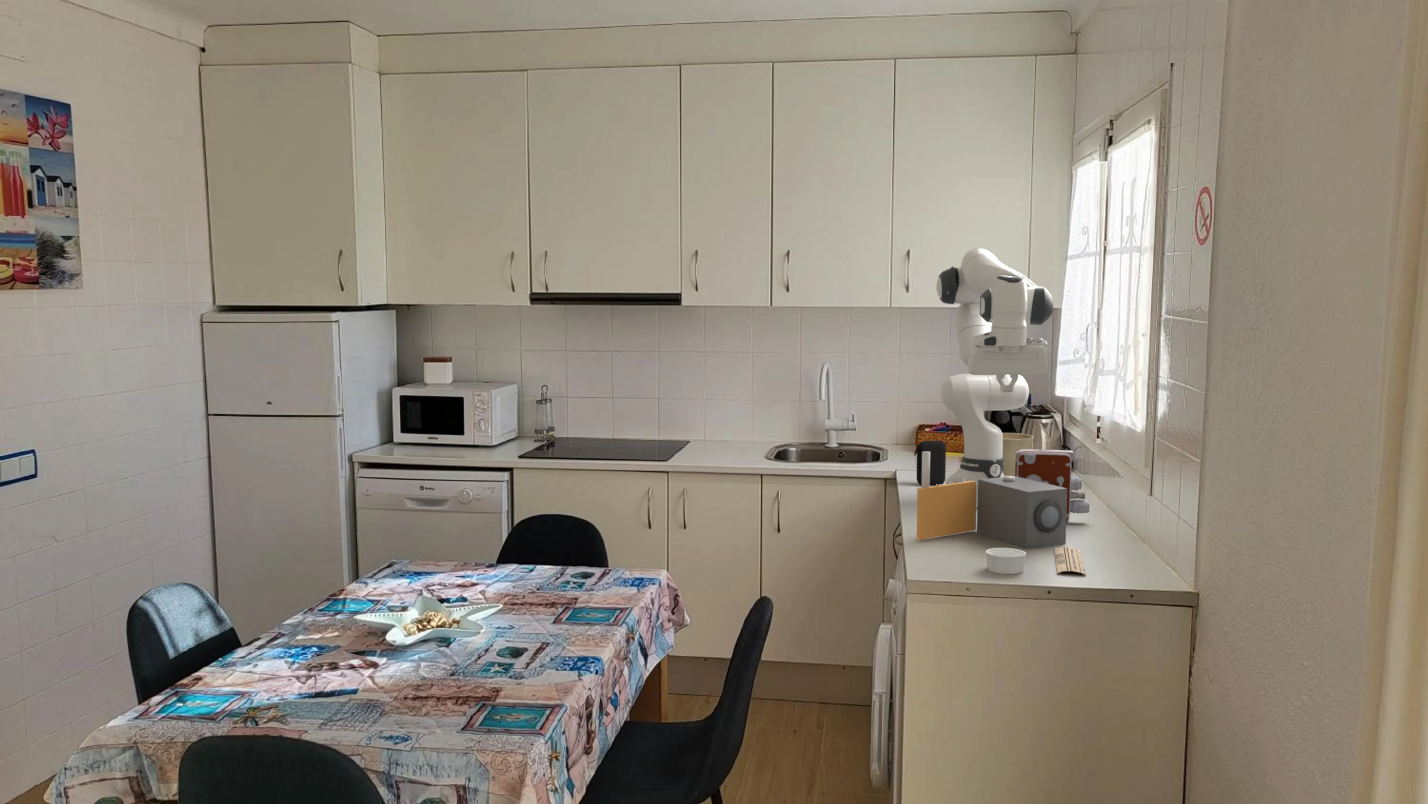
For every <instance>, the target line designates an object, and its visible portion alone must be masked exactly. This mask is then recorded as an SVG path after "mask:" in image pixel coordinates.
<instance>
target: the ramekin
mask: <svg viewBox="0 0 1428 804" xmlns="http://www.w3.org/2000/svg"><path fill="white" fill-rule="evenodd" d="M985 556H986V567H987V568H986V569H987V570H988V571H990V572H991V573H995V574H999V575H1017V574H1021V573H1023V572H1024V571H1025V561H1026V557H1027V552H1026V551H1024V550H1021V549H1017V548H1011V547H1010V548H1009V547H992V548H989V549H988V548H987V549H986V550H985Z"/></svg>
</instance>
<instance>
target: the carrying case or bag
mask: <svg viewBox="0 0 1428 804" xmlns="http://www.w3.org/2000/svg"><path fill="white" fill-rule="evenodd" d="M924 451H927V452H930V485H932V486H938V485H939V484H942V485H944V483H946V469H947V468H946V467H947V465H946V464H947V463H946V459H947V458H946V457H947V456H946V455H947V446H946V443H945V441H943V440H921V441H919V443H918V444H917V445H916V447H915V449H914V453H913V456H914V457H915V456H916V481H917V484H918V485H919V486H922V452H924ZM936 484H938V485H936Z"/></svg>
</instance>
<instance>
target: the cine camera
mask: <svg viewBox="0 0 1428 804" xmlns="http://www.w3.org/2000/svg"><path fill="white" fill-rule="evenodd" d="M1074 461H1075V452H1074V451H1073V450H1068V449H1067V450H1061V449H1043V448H1039V449H1038V448H1037V449H1033V448H1032V449H1021V450H1019V451H1016V462H1015V476H1017V477H1021V478H1025V479H1029V480H1034V481H1038V482H1042V483H1046V484H1050V485H1055V486H1059V487H1063V488H1067V514H1066V525H1067V524H1068V523H1069V521H1070V515H1071V513H1072V514H1088V513H1089V512H1090V501H1088V500H1085V499H1086V492H1084V491H1083V492H1078V491H1079V490H1081V489H1082V485H1083V484H1082V482H1083V481H1082V478H1081V477H1079V476H1078V475H1077V476H1073V475H1072V462H1074Z"/></svg>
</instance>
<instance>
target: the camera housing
mask: <svg viewBox="0 0 1428 804" xmlns="http://www.w3.org/2000/svg"><path fill="white" fill-rule="evenodd" d="M1066 514H1067V488H1063V487H1059V486H1055V485H1050V484H1046V483H1042V482H1038V481H1034V480H1029V479H1025V478H1021V477H1017V476H1003V477H1000V478H987V479H978V502H977V508H976V533H979V534H982V535H985V536H988V537H992V538H995V539H997V540H1000V541H1003V542H1005V543H1009V544H1013V545H1016V546H1019V547H1020V548H1021V547H1022V548H1024V549H1031V548H1033V547H1034V548H1043V547H1049V546H1050V547H1051V546H1058V545H1066V543H1067V542H1066V539H1067V538H1066V537H1067V524H1066ZM1042 546H1043V547H1042Z"/></svg>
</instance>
